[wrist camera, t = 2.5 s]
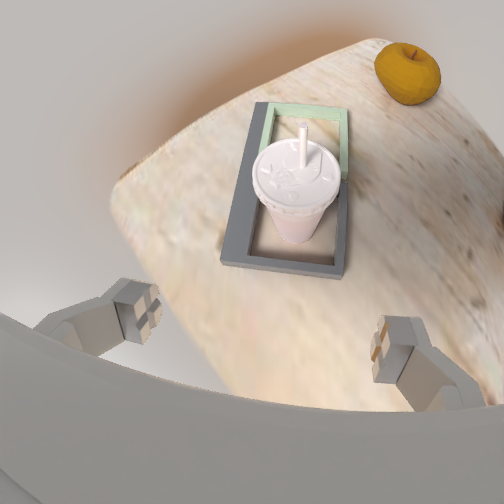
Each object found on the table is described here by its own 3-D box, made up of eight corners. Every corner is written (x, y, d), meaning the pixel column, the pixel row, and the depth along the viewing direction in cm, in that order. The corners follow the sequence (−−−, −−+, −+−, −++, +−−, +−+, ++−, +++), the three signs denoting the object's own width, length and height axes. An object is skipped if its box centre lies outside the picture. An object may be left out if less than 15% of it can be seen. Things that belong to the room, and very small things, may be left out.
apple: (360, 98, 35) (369, 45, 26) (382, 71, 36) (391, 24, 28) (419, 130, 32) (440, 80, 23) (435, 98, 34) (452, 53, 25)
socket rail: (345, 117, 34) (346, 109, 32) (340, 279, 27) (343, 275, 26) (257, 110, 35) (256, 102, 34) (223, 265, 29) (219, 260, 28)
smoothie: (341, 232, 29) (372, 138, 16) (289, 270, 28) (287, 194, 15) (300, 187, 31) (301, 83, 18) (250, 221, 30) (221, 125, 17)
